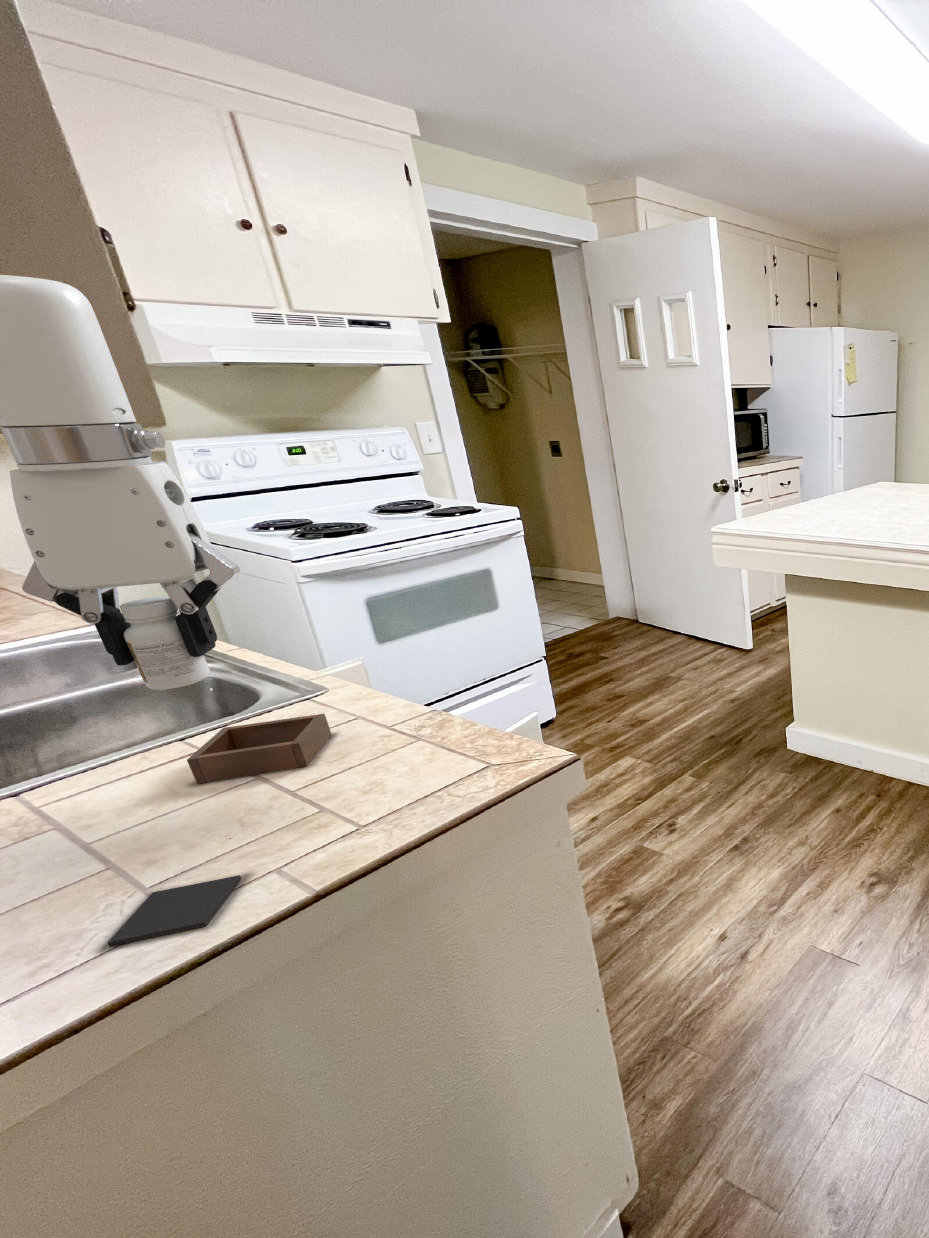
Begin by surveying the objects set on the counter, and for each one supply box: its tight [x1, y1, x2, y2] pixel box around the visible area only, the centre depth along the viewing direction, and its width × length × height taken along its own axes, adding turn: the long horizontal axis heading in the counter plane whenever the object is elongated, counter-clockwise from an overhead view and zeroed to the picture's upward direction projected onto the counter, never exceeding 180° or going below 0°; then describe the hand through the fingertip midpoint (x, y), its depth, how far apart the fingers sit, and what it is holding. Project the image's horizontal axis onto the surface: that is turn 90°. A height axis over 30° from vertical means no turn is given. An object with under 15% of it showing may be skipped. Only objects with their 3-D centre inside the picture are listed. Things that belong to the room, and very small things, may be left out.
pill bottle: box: [119, 595, 211, 691], centre depth 62 cm, size 4×4×8 cm
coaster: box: [106, 874, 242, 947], centre depth 56 cm, size 6×6×1 cm
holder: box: [186, 713, 333, 785], centre depth 79 cm, size 10×8×3 cm
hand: (168, 654), depth 62 cm, fingers closed on pill bottle, 4 cm apart
